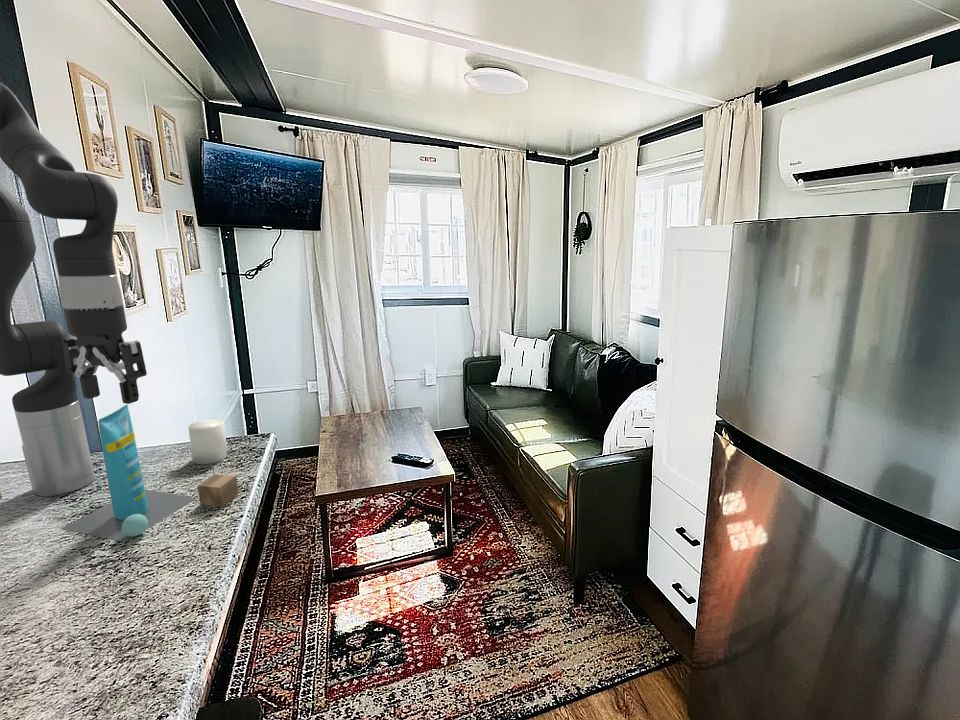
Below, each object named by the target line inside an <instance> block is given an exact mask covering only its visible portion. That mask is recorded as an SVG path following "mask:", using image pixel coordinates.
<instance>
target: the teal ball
mask: <svg viewBox="0 0 960 720" xmlns="http://www.w3.org/2000/svg"><path fill="white" fill-rule="evenodd" d="M147 527H148V520H147V518H146V517H145V516H144V515H141V514H134V515H131V516H129V517H127V518H126V519H125V520H124V522H123V524H122V531H123V533H124V534H125V535H127V536H131V537H133V538H135V537H137V536H140V535H142V534H143V533H145V532H146V530H148V529H147Z"/></svg>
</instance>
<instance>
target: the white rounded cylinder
mask: <svg viewBox="0 0 960 720" xmlns="http://www.w3.org/2000/svg"><path fill="white" fill-rule="evenodd" d="M225 427H226V425H225V421H224V420H221V419H214V418H211V419H203V420H199V421H195V422H192V423H190V425H189V426H188V435H189V444H190V452H191V460H192V461H191V462H192V463H193V464H196V465H210V464H214V463H218V462H221V461H223V460H224V458H225V459H226V458H227V457H228V447H227V439H226V438H227V437H226V428H225Z"/></svg>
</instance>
